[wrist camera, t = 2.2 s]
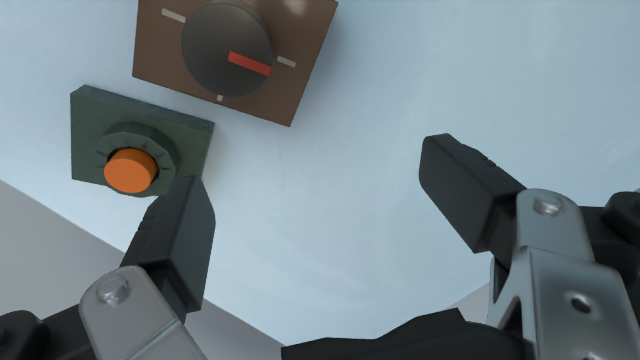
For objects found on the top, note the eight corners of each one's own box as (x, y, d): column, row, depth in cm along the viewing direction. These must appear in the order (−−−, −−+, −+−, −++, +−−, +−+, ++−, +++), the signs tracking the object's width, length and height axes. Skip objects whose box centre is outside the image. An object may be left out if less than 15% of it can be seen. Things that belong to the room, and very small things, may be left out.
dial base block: (145, 66, 23) (130, 77, 20) (161, -88, 18) (145, -99, 16) (287, 114, 27) (289, 128, 25) (330, 0, 22) (339, 2, 20)
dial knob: (190, 61, 20) (172, 82, 16) (204, -17, 18) (188, -16, 14) (258, 86, 22) (258, 110, 18) (279, 18, 20) (285, 28, 16)
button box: (83, 165, 27) (59, 191, 23) (84, 84, 23) (55, 101, 20) (197, 190, 30) (190, 215, 27) (214, 123, 26) (208, 143, 23)
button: (111, 175, 24) (102, 188, 22) (113, 143, 22) (104, 154, 21) (154, 184, 25) (148, 197, 23) (159, 154, 23) (153, 165, 22)
